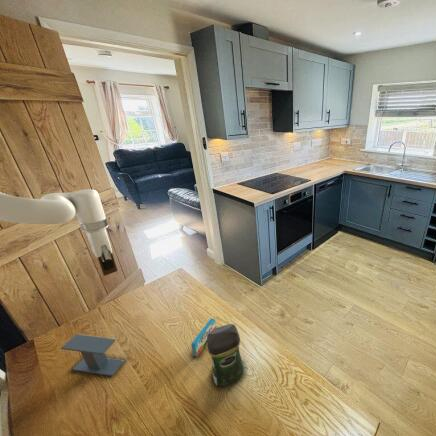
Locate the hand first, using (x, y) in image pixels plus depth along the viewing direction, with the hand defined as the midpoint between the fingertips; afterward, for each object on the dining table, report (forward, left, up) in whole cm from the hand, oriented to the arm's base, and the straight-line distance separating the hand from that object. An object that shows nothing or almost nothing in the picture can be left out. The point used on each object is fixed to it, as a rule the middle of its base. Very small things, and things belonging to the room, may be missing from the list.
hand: (108, 267), depth 92 cm
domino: (0, 0, -3) cm, 3 cm away
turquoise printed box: (+29, -31, -22) cm, 48 cm away
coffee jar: (+34, -46, -22) cm, 62 cm away
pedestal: (-4, -25, -22) cm, 34 cm away
